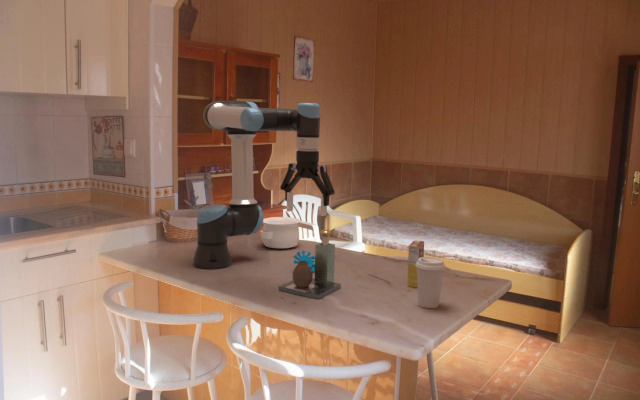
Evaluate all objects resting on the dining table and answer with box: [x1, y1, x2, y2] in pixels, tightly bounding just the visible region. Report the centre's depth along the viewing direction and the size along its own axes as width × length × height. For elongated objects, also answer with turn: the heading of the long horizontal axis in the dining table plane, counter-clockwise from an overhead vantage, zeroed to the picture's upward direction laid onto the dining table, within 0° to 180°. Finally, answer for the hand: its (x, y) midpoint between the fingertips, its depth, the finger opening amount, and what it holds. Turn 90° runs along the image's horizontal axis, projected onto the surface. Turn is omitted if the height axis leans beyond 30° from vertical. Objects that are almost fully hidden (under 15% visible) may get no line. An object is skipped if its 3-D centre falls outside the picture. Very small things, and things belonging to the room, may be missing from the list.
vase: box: [291, 261, 314, 288], centre depth 188 cm, size 7×7×9 cm
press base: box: [278, 242, 342, 300], centre depth 191 cm, size 16×15×16 cm
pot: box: [260, 216, 301, 250], centre depth 251 cm, size 22×17×12 cm
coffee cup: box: [415, 256, 447, 309], centre depth 178 cm, size 10×10×15 cm
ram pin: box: [319, 229, 332, 246], centre depth 192 cm, size 4×4×11 cm
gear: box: [293, 249, 315, 273], centre depth 214 cm, size 11×6×10 cm
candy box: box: [407, 239, 425, 289], centre depth 200 cm, size 9×4×15 cm, turn 158°
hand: (306, 213), depth 186 cm, fingers open, 13 cm apart
